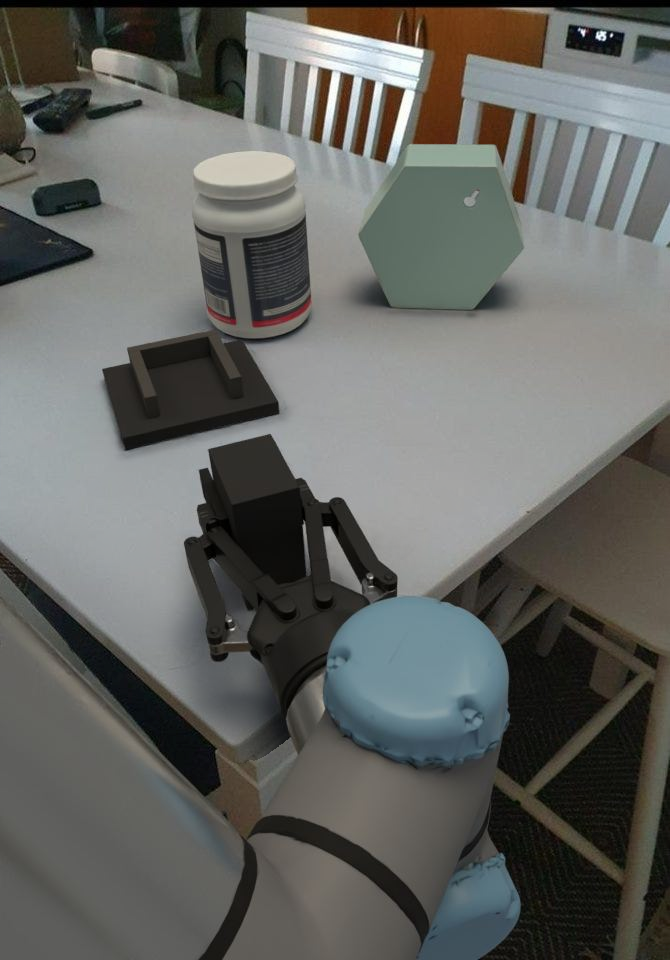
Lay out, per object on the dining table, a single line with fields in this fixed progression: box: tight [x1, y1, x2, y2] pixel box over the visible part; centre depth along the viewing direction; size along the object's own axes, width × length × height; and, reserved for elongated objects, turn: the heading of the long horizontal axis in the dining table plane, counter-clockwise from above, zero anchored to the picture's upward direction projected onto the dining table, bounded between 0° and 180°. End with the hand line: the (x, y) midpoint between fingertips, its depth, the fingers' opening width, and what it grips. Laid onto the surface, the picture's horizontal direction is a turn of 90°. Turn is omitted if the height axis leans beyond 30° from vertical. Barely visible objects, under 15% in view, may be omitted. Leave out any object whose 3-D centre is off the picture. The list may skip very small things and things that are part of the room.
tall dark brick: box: [207, 433, 308, 611], centre depth 63 cm, size 5×7×11 cm
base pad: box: [101, 329, 280, 450], centre depth 86 cm, size 16×14×4 cm
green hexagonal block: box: [357, 143, 525, 311], centre depth 98 cm, size 17×8×21 cm, turn 81°
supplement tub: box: [191, 150, 313, 339], centre depth 94 cm, size 13×13×18 cm
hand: (239, 473), depth 66 cm, fingers closed on tall dark brick, 5 cm apart
